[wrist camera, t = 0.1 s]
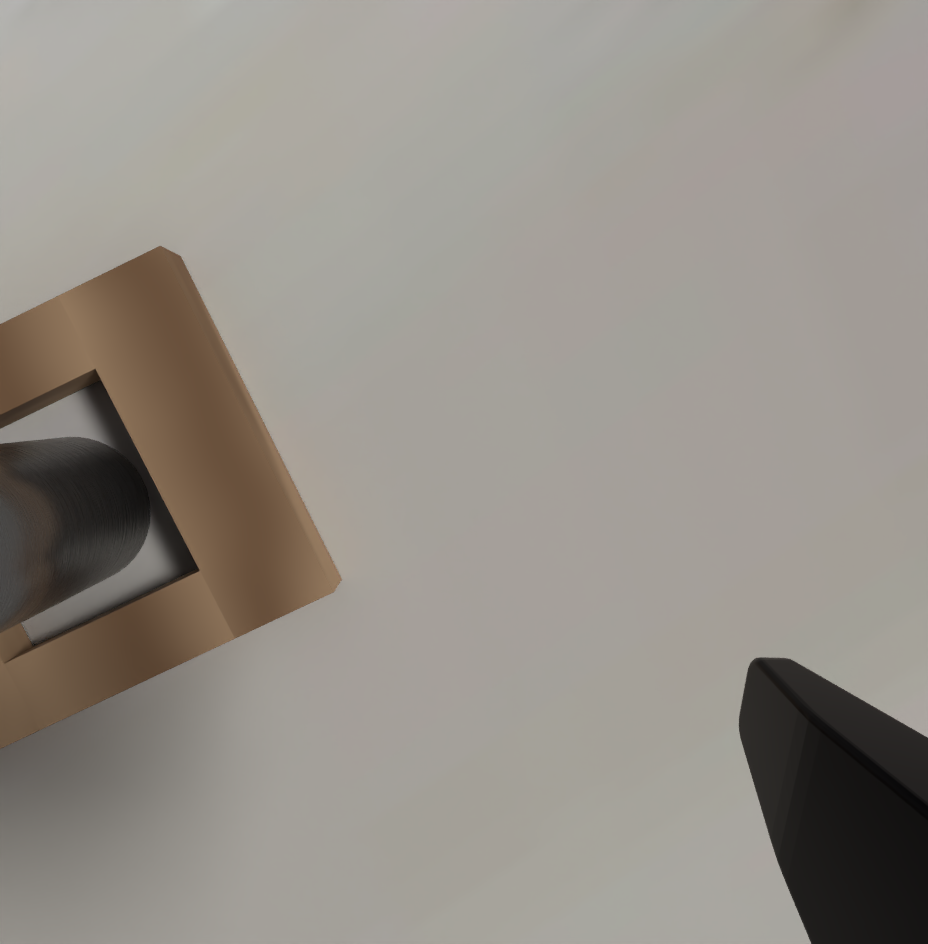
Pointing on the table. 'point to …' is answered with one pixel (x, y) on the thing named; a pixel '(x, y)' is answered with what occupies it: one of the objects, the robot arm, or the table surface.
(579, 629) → the table surface
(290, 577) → the slotted peg board
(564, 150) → the table surface
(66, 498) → the metal peg
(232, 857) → the table surface
